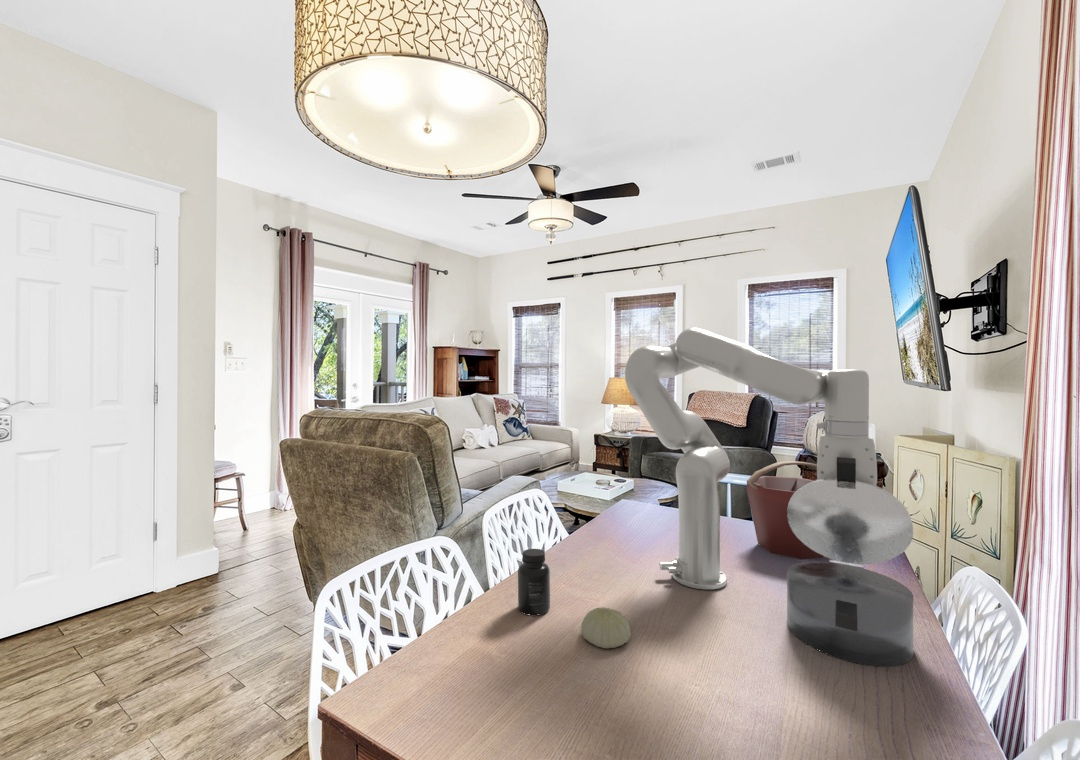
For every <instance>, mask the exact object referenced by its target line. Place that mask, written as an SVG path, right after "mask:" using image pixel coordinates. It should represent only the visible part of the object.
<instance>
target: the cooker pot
mask: <svg viewBox="0 0 1080 760" xmlns="http://www.w3.org/2000/svg"><path fill="white" fill-rule="evenodd" d="M786 571H787V572H786V616H787V617H786V623H787V627H788V629H789V630H790V632H791V633H792V634H793V635H794V636H795V637H796V638H797V637H798V638H797V639H799V640H800V641H801V642H803V643H804V642H805V643H804V644H805V645H807V644H808V645H807V646H809V645H810V646H809V647H811V646H812V647H813V649H814V648H816V649H818V650H820V651H819V652H821V651H822V652H821V653H823V652H824V653H823V654H825V653H827V654H826V655H827V656H830V655H831V657H833V658H836V659H839V660H842V661H845V660H846V661H845V662H849V661H851V662H850V663H853V662H854V663H853V664H858V663H859V664H860V665H863V664H865V665H864V666H869V665H871V666H870V667H880V666H886V667H887V668H888V666H890V667H898V666H902V665H905V664H907V663H909V662H910V661H911V660H912V659H913V657H914V594H913V593H912V591H911V590H910V589H909V588H908V587H907V586H906V585H904V584H902V583H901V582H899V581H897V580H895V579H894V578H891V577H889V576H886V575H885V574H882V573H879V572H876V571H873V570H870V569H866V568H865V566H864V565H862V564H852V563H845V562H841V561H837V560H834V559H829V562H828V561H805V562H804V561H803V562H799V563H795V564H793V565H790V566H789V567H788V568H787V570H786ZM812 647H811V648H812ZM816 649H815V650H816ZM818 650H817V651H818Z"/></svg>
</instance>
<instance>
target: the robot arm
mask: <svg viewBox="0 0 1080 760" xmlns="http://www.w3.org/2000/svg"><path fill="white" fill-rule="evenodd" d="M700 367H701V368H703V369H706V370H709V371H711V372H713V373H716V374H718V375H721V376H723V377H725V378H728V379H732V380H733V381H735V382H737V383H739V384H743V385H745V386H748V387H749V388H750V387H751V388H752V389H754V390H757V391H759V392H762V393H764V394H766V395H769V396H771V397H774V398H776V399H779V400H781V401H784V402H787V403H789V404H793V405H799V406H801V405H807V404H814V403H824V420H823V421H822V422H821V421H820V422H816V430H821V431H823V432H824V434H821V435H819V436H820V437H819V440H818V449H817V460H816V465H817V467H816V477H817V478H816V480H820V479H826V478H837V457H843V458H856V480H860V481H864V482H867V483H870V484H873V485H875V486H878V464H877V463H878V462H877V450H876V445H875V440H874V438H873V437H871V436H869V431H870V429H869V427H870V426H869V425H870V424H869V423H870V422H869V421H870V420H869V419H870V417H869V412H870V410H869V408H870V407H869V406H870V402H869V401H870V398H869V397H870V393H869V392H870V390H869V389H870V378H869V377H870V376H869V374H868V372H867V371H865V370H863V369H859V368H858V369H855V368H854V369H853V368H851V369H849V368H846V369H844V368H843V369H842V368H841V369H831V370H821V369H820V370H818V369H811V368H807V367H806V368H805V367H801V366H798V365H794V364H792V363H790V362H786V361H784V360H780V359H777V358H774V357H772V356H769V355H767V354H764V353H762V352H760V351H758V350H757V349H755V348H754V347H752V346H751V345H749V344H745V343H742V342H740V341H737V340H734V339H731V338H728V337H725V336H723V335H719V334H716V333H713V332H712V331H710V330H706V329H702V328H699V327H690V328H687V329H684V330H682V331H681V332H680V333H679V335H678V336H677V338H676V340H675V343H672V344H669V345H668V346H667V345H666V346H665V347H664V346H657V345H643V346H640V347H638V348H637V349H635V350H634V351H633V352H632V353H631V354H630V355H629V357H628V359H627V361H626V364H625V370H624V378H625V379H624V380H625V384H626V387H627V389H628V392H629V393H630V395H631V396H632V399H634V401H635V403H636V404H637V405H638V407H639V409H640V411H641V412H642V414H643V415H644V417H645V419H646V420H647V422H648V424H649V425H650V427H651V429H652V430H653V432H654V434H655V435H656V436H657V438H658V440H659V441H660V443H661V444H662V445H663V446H664V447H665V448H666V449H670V450H680V449H681V450H682V452H683V454H682V455H681V457H679V459H678V461H677V462H676V463H677V464H676V467H675V479H676V485H677V493H678V495H677V496H678V556H675V557H674V560H671V561H659V563H658V564H659V565H658V566H659V570H660V571H667V572H668V574H672V575H671V576H672V578H673V579H674V580H675V582H677V583H678V584H681V585H683V586H685V587H689V588H692V589H698V590H709V591H710V590H712V591H713V590H719V589H722V588H723V587H725V586H727V583H728V577H727V575H726V574H725V573H724V572H723V571H721V507H720V505H721V504H720V496H719V490H718V483H719V482H721V481H722V480H724V479H725V478H726V477H727V475H728V473H729V471H730V469H731V466H730V465H731V463H730V459H729V456H728V454H727V452H726V450H725V449H724V448H723V445H721V443H720V442H719V440H718V439H717V437H716V435H715V434H714V433H713V431H712V430H711V428H710V427H709V426H708V424H707V423H706V421H705V420H704V419H703V418H702V417H701V416H700V415H699V414H697V413H696V412H694V411H691V410H686V409H685V410H682V408H680V406H679V405H678V403H677V402H676V401H675V399H674V397H673V396H672V394H671V393H670V392H669V390H668V389H667V388H666V387H665V386H664V385H663V384H662V383H661V380H660V379H663V380H664V379H669V378H674V377H676V376H679V375H682V374H684V373H687V372H689V371H691V370H694V369H697V368H700Z"/></svg>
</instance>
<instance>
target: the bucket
mask: <svg viewBox="0 0 1080 760" xmlns="http://www.w3.org/2000/svg"><path fill="white" fill-rule="evenodd" d="M792 465H793V466H794V465H796V466H798V465H799V466H800V465H802V466H808V467H814V468H817V463H816V464H815V463H811V462H805V461H796V460H795V461H793V460H790V461H789V460H788V461H787V460H786V461H777V462H775V463H772V464H770V465H767V466H765V467H763V468H761V469H759V470H756V471H754V472H753V474H752V475H750V477H749V478H748V480H746V493H747V497H748V502H749V506H750V511H751V512H750V513H751V516H752V521H753V522H752V523H753V525H754V531H755V536H756V540H757V545H759V544H760V545H761V546H760V545H759V546H760V547H761V548H763V547H764V548H765V549H764V548H763V549H764V550H765V551H767V552H769V553H770V554H772V555H778V556H782V557H788V558H792V559H797V560H800V561H801V560H809V559H817V558H825V556H823V555H821V554H819V553H817V552H815V551H813V550H812V549H810V548H809V547H807V546H806V545H805V544H804V543H802V542H801V541H800V540H799V539H798V538H797V537H796V535H795V534H794V533H793V531H792V529H791V527H790V525H789V522H788V518H787V509H788V504H789V501H790V499H791V497H792V496H793V494H794V493H795V492H796V491H797V490H798V489H799V488H801V487H802V486H804V485H806V484H808V483H810V482H813V481H814V479H813V480H812V479H808V478H802V477H796V476H795V477H794V476H793V477H792V476H773V475H772V476H769V475H768V476H767V475H765V474H768V473H770V472H772V471H775V470H777V469H780V468H782V467H784V466H792Z"/></svg>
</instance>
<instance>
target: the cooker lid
mask: <svg viewBox="0 0 1080 760" xmlns="http://www.w3.org/2000/svg"><path fill="white" fill-rule="evenodd" d="M787 518H788V522H789V525H790V527H791V529H792V531H793V533H794V534H795V535H796V537H797V538H798V539H799V540H800V541H801V542H802V543H804V544H805V545H806V546H807V547H809V548H810V549H812V550H813V551H815V552H817V553H819V554H821V555H823V556H824V558H825V557H826V558H828V559H829V560H833V561H839V562H845V563H850V564H856V565H873V564H879V563H884V562H888V561H891V560H893V559H894V558H897V557H899V556H900V555H902V554H903V553H904V552H905V551H906V550H907V549H908V548H909V546H910V545H911V543H912V540H913V537H914V527H913V521H912V517H911V515H910V513H909V511H908V510H907V508H906V507H905V505H904V504H903V503H902V502H901V501H900V500H899V499H898V498H897V497H896V496H894V495H893V494H892V493H890V492H889V491H887V490H886V489H883V488H882V487H880V486H878V485H877V486H875V485H873V484H870V483H867V482H864V481H860V480H856V458H843V457H837V478H826V479H820V480H817V479H816V480H813V482H810V483H808V484H806V485H804V486H802V487H801V488H799V489H798V490H797V491H796V492H795V493H794V494H793V496H792V497H791V499H790V501H789V504H788V509H787Z"/></svg>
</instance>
